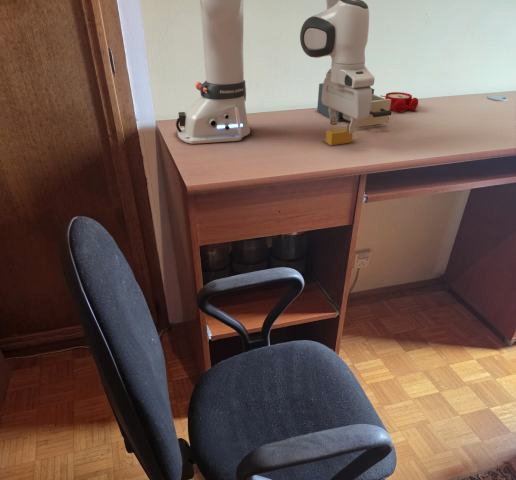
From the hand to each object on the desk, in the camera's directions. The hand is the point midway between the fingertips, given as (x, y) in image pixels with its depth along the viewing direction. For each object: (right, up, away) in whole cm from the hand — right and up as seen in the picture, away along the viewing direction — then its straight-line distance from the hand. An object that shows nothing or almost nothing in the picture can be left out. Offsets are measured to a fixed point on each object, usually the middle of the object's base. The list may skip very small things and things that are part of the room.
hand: (341, 128), depth 131 cm
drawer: (+10, +10, +15) cm, 20 cm away
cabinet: (+5, +17, +25) cm, 31 cm away
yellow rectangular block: (-1, -3, +2) cm, 4 cm away
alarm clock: (+26, +21, +30) cm, 45 cm away
